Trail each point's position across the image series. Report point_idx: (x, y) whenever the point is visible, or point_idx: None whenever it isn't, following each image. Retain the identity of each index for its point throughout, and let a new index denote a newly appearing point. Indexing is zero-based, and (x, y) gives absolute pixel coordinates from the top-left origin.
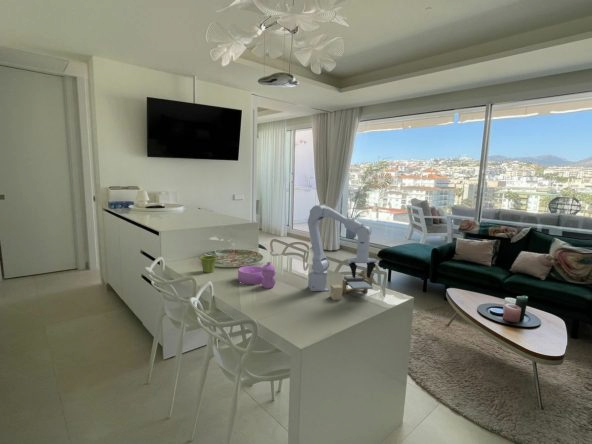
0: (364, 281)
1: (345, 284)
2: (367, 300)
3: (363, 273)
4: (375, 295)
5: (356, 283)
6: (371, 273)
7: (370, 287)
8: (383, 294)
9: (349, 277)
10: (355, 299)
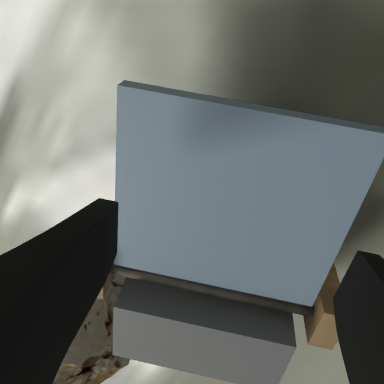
0: (116, 271)
1: (328, 285)
2: (221, 28)
3: (58, 380)
4: (82, 126)
5: (241, 246)
6: None
7: (147, 90)
8: (6, 128)
9: (248, 357)
10: (322, 85)
